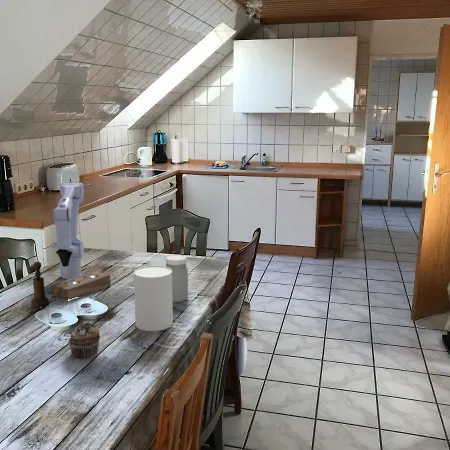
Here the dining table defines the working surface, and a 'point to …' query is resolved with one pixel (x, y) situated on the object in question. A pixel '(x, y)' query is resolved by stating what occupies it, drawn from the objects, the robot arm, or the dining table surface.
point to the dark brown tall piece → (39, 289)
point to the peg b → (90, 276)
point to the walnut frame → (81, 285)
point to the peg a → (72, 283)
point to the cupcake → (84, 341)
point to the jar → (178, 277)
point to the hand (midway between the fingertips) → (65, 266)
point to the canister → (153, 298)
